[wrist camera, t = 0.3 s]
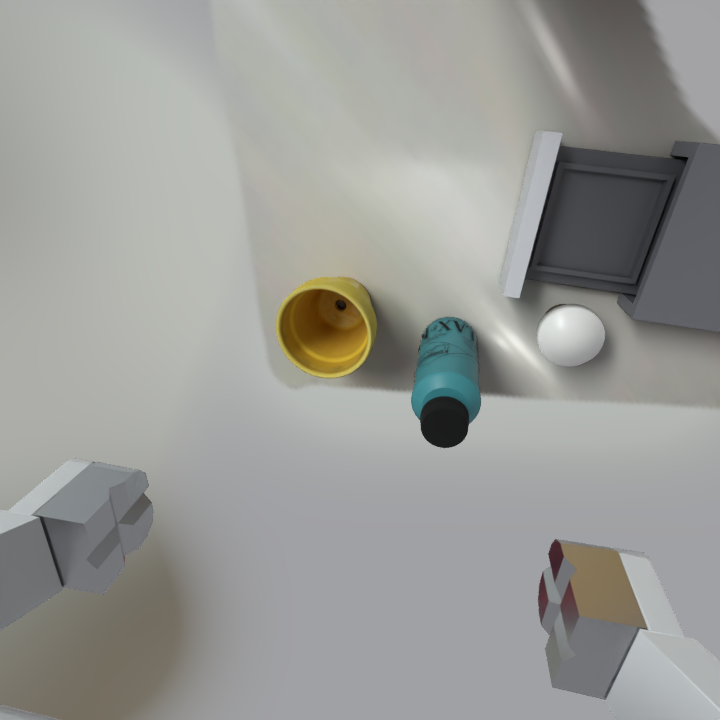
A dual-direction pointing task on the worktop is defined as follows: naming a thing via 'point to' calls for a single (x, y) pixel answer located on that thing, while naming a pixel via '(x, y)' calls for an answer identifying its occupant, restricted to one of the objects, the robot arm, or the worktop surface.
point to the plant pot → (327, 327)
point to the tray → (587, 217)
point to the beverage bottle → (447, 382)
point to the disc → (570, 335)
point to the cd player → (685, 250)
